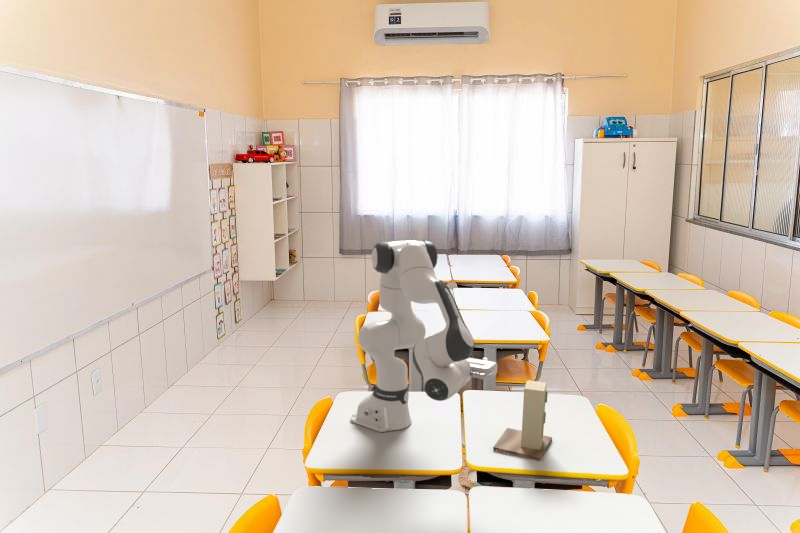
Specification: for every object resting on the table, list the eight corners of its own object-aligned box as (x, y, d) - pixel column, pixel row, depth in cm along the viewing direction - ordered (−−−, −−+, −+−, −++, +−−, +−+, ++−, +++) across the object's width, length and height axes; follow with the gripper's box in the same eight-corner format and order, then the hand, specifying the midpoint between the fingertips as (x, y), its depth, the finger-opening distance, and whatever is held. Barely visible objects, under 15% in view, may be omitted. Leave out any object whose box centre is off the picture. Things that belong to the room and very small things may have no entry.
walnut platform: (493, 450, 212) (493, 447, 211) (507, 430, 226) (507, 427, 226) (540, 461, 205) (540, 457, 205) (551, 440, 219) (552, 437, 219)
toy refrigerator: (543, 450, 209) (546, 391, 205) (520, 447, 211) (523, 388, 207) (545, 440, 216) (548, 382, 212) (523, 437, 219) (526, 379, 214)
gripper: (490, 367, 184) (504, 353, 196) (425, 356, 193) (443, 343, 205) (489, 387, 185) (503, 372, 197) (425, 376, 194) (442, 362, 206)
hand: (472, 357), depth 201 cm, fingers open, 8 cm apart
